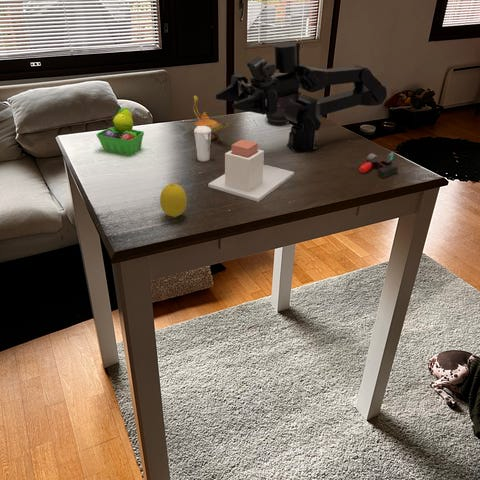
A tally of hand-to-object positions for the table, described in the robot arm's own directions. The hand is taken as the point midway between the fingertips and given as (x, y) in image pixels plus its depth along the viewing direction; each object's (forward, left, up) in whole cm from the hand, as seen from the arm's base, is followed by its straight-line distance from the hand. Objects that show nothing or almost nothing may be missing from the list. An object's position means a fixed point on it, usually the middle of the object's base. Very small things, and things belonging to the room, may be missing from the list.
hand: (224, 101), depth 119 cm
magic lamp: (-3, -19, -17) cm, 26 cm away
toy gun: (-35, +18, -17) cm, 43 cm away
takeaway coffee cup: (+4, -4, -17) cm, 18 cm away
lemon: (+21, +24, -17) cm, 36 cm away
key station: (-2, +13, -16) cm, 21 cm away
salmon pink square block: (+1, +15, -9) cm, 17 cm away
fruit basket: (+23, -19, -17) cm, 34 cm away
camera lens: (-29, -25, -17) cm, 42 cm away
